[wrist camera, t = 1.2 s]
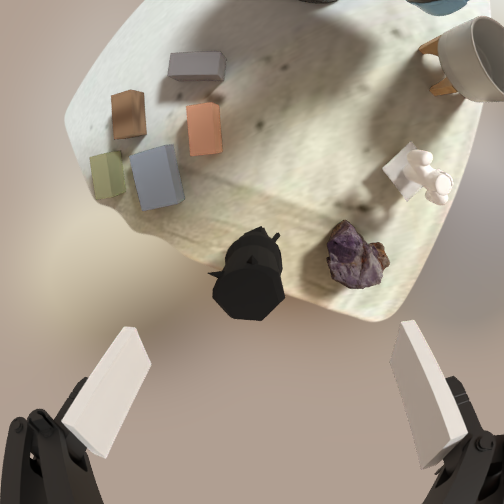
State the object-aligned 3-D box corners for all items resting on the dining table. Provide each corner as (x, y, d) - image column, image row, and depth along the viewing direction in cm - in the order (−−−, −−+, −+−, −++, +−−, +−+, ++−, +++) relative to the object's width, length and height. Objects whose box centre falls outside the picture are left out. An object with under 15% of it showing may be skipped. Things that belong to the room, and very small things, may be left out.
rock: (348, 209, 46) (310, 249, 50) (356, 217, 38) (310, 264, 42) (391, 253, 46) (353, 290, 50) (404, 268, 38) (360, 311, 42)
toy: (271, 202, 46) (265, 249, 28) (293, 249, 49) (299, 317, 31) (228, 222, 48) (195, 277, 30) (251, 266, 51) (234, 338, 33)
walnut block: (125, 97, 40) (111, 95, 36) (144, 92, 40) (130, 89, 35) (128, 138, 43) (114, 139, 39) (147, 134, 43) (133, 134, 38)
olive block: (104, 154, 45) (89, 157, 40) (120, 150, 44) (106, 153, 40) (110, 193, 48) (96, 199, 43) (126, 191, 48) (112, 197, 43)
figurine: (401, 201, 43) (444, 229, 29) (370, 160, 41) (408, 173, 27) (427, 176, 40) (476, 195, 27) (398, 135, 38) (444, 137, 25)
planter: (431, 29, 28) (482, 2, 12) (476, 76, 30) (535, 69, 14) (405, 68, 33) (460, 45, 17) (454, 117, 35) (517, 120, 19)
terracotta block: (195, 108, 41) (186, 106, 36) (219, 105, 40) (211, 102, 36) (199, 154, 44) (190, 156, 39) (222, 151, 43) (215, 153, 39)
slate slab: (139, 154, 45) (129, 156, 41) (173, 144, 44) (164, 145, 40) (151, 205, 48) (142, 211, 45) (185, 198, 47) (177, 203, 44)
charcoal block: (178, 81, 39) (167, 75, 34) (181, 60, 37) (170, 53, 32) (224, 81, 38) (217, 74, 34) (226, 59, 37) (220, 51, 32)
